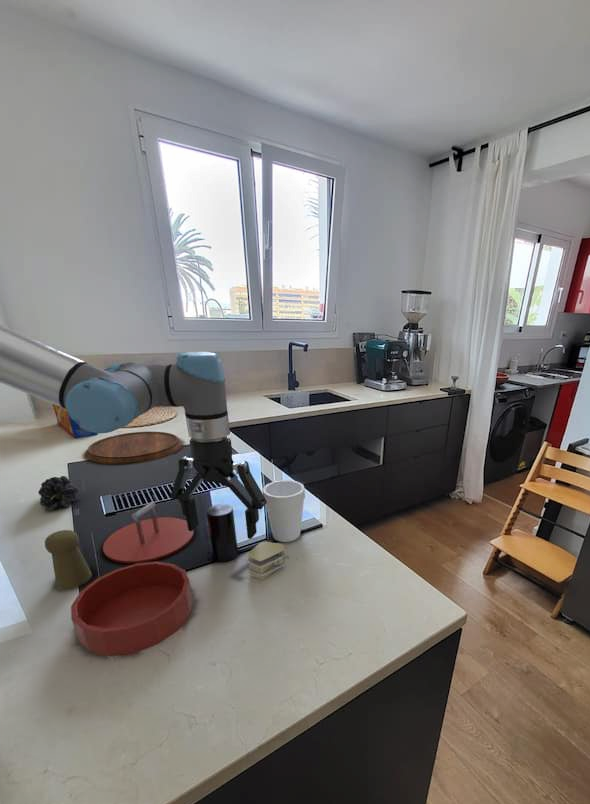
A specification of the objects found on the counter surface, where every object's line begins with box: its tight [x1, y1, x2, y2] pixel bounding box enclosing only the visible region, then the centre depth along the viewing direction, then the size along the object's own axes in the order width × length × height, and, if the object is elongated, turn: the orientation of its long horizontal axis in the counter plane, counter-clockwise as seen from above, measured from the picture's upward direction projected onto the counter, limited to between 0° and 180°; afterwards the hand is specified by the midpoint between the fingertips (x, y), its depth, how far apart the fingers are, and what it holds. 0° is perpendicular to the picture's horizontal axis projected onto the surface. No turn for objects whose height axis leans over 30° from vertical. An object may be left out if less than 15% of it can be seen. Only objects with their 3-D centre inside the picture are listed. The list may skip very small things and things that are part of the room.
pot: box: [70, 561, 194, 657], centre depth 68 cm, size 18×18×6 cm
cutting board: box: [84, 431, 183, 465], centre depth 147 cm, size 32×32×3 cm
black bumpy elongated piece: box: [37, 475, 79, 511], centre depth 106 cm, size 9×8×15 cm
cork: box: [44, 529, 93, 590], centre depth 76 cm, size 6×6×11 cm
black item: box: [206, 503, 239, 563], centre depth 84 cm, size 5×5×12 cm
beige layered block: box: [245, 541, 286, 581], centre depth 81 cm, size 10×9×6 cm
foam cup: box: [262, 479, 306, 543], centre depth 92 cm, size 10×9×13 cm
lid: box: [102, 501, 195, 564], centre depth 90 cm, size 19×19×9 cm
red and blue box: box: [52, 404, 98, 440], centre depth 162 cm, size 28×8×28 cm, turn 46°
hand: (222, 531), depth 84 cm, fingers open, 13 cm apart
